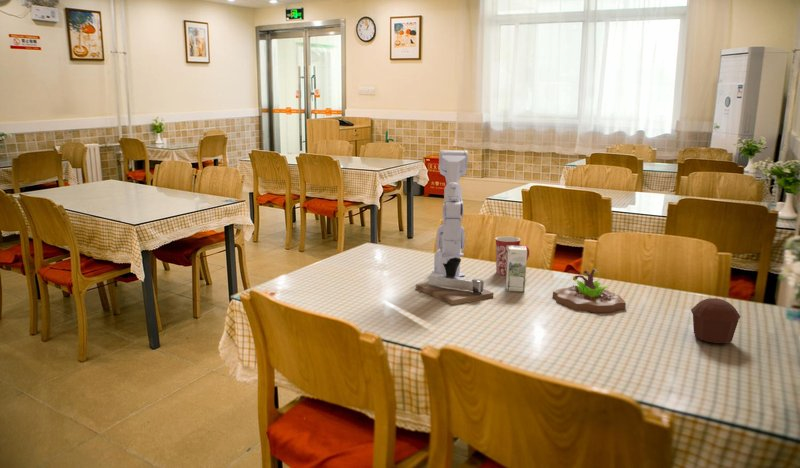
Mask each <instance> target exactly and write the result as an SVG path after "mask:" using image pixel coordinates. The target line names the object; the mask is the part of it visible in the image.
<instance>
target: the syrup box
mask: <svg viewBox="0 0 800 468" xmlns="http://www.w3.org/2000/svg"><path fill="white" fill-rule="evenodd" d="M525 246H526V245H525ZM525 246H508V257H507V274H506V276H505V277H506V278H505V279H506V280H505V289H506V290H507V291H506V292H513V293H514V292H516V293H525V292H526V291H525V290H526V289H525V288H526V272H527V261H528V259H527V249H526V247H525Z"/></svg>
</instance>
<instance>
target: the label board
mask: <svg viewBox="0 0 800 468" xmlns="http://www.w3.org/2000/svg"><path fill="white" fill-rule="evenodd" d="M415 289H416V290H418V291H420V292H423V293H425V294H426V295H429V296H432V297H434V298H437V300H441V301H443V302H444V303H448V304H450V305H452V306H455V305H461V304H465V303H469V302H476V301H477V302H478V301H481V300H486V299H491V298H494V292H493V291H489V290H487V289H485V288H483V292H473V291H469V290H463V289H456V288H449V287H443V286H436V285H429V281H427V282H421V283H416V284H415Z"/></svg>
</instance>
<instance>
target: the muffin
mask: <svg viewBox="0 0 800 468" xmlns="http://www.w3.org/2000/svg"><path fill="white" fill-rule="evenodd" d="M690 312H691V314H692V326H693V327H692V328H693V334H694V337H695V338H698V339H699V340H702V341H703V342H709V343H713V344H727V343H732V341H733V338H734V336H735V332H736V329H737V326H738V323H739V319H740V318H741V317H742V316H741V315H740V314H739V311H738V310H737V309H736V308H735V306H734V305H732V304H731V303H730V302H728V301H727V300H725V299H724V300H723V299H720V298H714V297H711V298H704V299H702V300H700V301H699V302H698V303H696V304H695V305H694V306H693V307H692V308H691V309H690Z"/></svg>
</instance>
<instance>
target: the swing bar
mask: <svg viewBox="0 0 800 468" xmlns="http://www.w3.org/2000/svg"><path fill="white" fill-rule="evenodd" d="M484 281H485V280H483V279H479V278H476V279H475V278H468V277H463V276H461V277H455V276H448V275H441V274H434V273H432V272H431V274H429V275H428V282H429V285H436V286H443V287H449V288H456V289H463V290H469V291H473V292H483V289H485V288H484V286H485V285H484V284H485V283H484Z"/></svg>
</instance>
